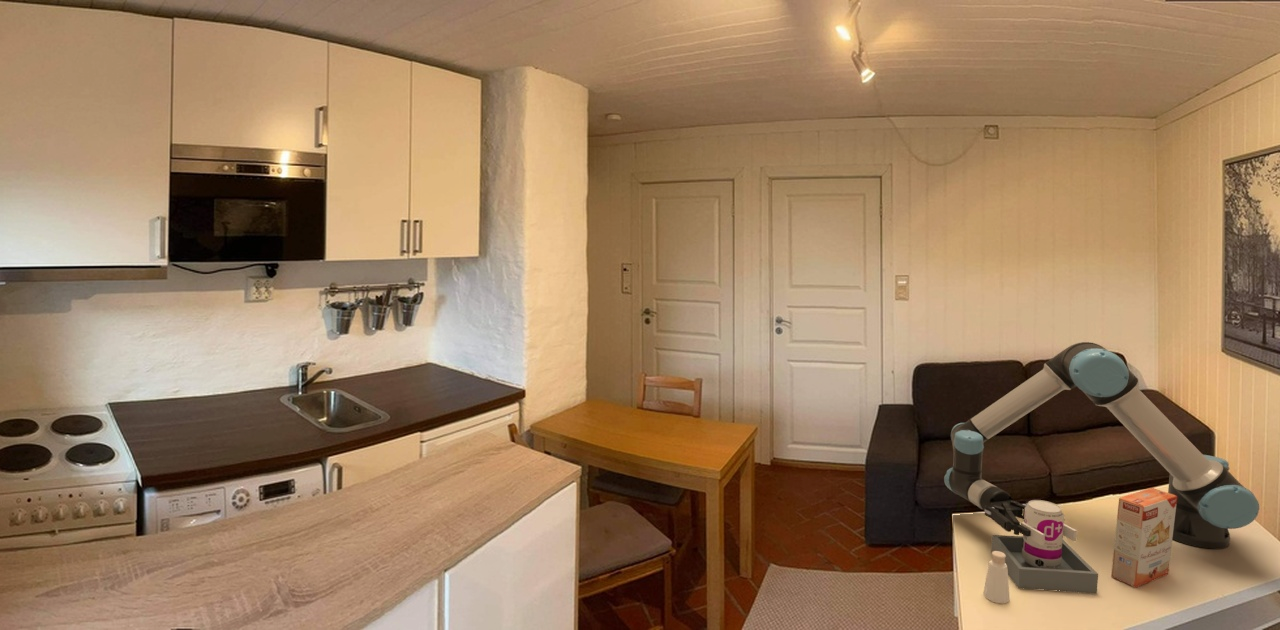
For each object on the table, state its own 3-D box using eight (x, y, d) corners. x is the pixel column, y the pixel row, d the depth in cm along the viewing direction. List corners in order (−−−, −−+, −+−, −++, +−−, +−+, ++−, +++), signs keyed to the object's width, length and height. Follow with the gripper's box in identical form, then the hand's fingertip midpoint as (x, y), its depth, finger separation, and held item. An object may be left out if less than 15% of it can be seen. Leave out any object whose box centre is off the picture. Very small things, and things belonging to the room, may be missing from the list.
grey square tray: (1060, 556, 162) (1062, 538, 162) (1096, 593, 146) (1098, 574, 145) (990, 552, 165) (991, 534, 164) (1018, 588, 149) (1019, 568, 148)
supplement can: (1066, 572, 150) (1071, 514, 148) (1029, 569, 152) (1033, 512, 150) (1051, 555, 158) (1055, 500, 156) (1016, 553, 160) (1019, 498, 158)
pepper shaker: (985, 588, 149) (987, 545, 148) (1011, 595, 146) (1014, 552, 144) (981, 598, 145) (983, 554, 143) (1007, 606, 141) (1010, 561, 140)
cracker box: (1137, 589, 147) (1145, 506, 144) (1109, 577, 152) (1116, 496, 150) (1171, 575, 152) (1178, 494, 150) (1143, 563, 158) (1150, 485, 155)
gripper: (1022, 507, 174) (1095, 547, 152) (956, 515, 170) (1020, 557, 148) (1024, 482, 173) (1097, 518, 151) (957, 489, 169) (1022, 527, 147)
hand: (1059, 537), depth 149 cm, fingers closed on supplement can, 8 cm apart
